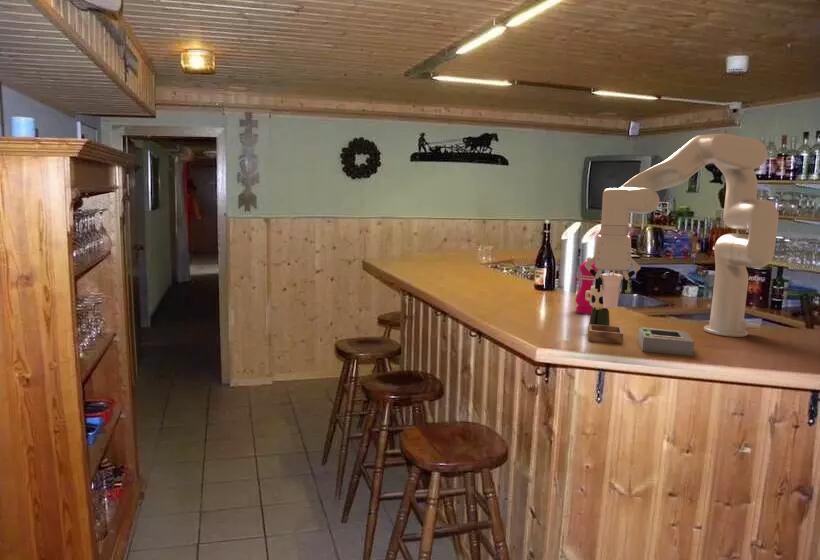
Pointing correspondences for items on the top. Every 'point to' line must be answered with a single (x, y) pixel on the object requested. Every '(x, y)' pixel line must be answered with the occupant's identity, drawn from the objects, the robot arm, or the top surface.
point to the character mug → (597, 307)
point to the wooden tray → (605, 333)
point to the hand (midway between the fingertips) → (610, 291)
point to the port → (665, 341)
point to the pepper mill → (585, 289)
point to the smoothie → (611, 289)
